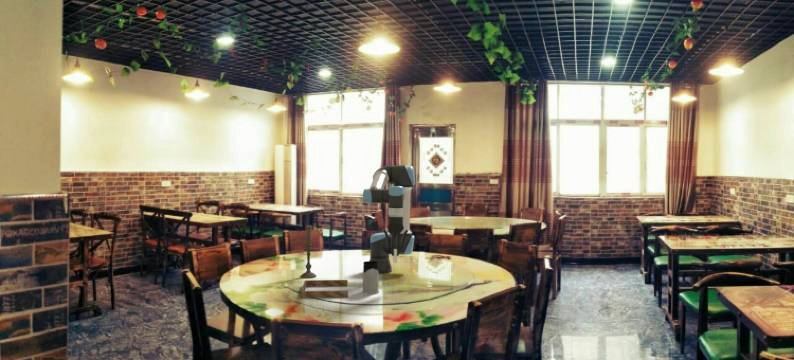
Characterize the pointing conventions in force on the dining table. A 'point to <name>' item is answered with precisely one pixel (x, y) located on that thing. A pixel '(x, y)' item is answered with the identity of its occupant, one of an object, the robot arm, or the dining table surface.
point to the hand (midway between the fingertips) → (395, 262)
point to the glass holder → (370, 277)
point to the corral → (324, 293)
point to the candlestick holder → (308, 256)
